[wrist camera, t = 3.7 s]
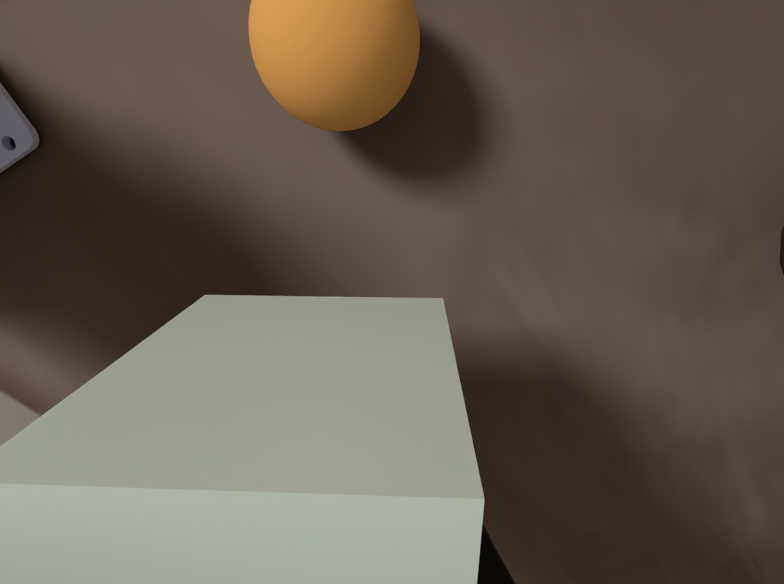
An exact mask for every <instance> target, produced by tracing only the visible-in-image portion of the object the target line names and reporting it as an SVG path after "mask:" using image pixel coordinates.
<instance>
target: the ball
mask: <svg viewBox="0 0 784 584" xmlns="http://www.w3.org/2000/svg"><path fill="white" fill-rule="evenodd" d="M249 39H250V47H251V52H252V56H253V60H254V63H255V65H256V68H257V71H258V73H259V75H260V77H261V79H262V81H263V83H264V84H265V86H266V87H267V89H268V90H269V92H270V93H271V95H272V96H273V97H274V98H275V100H276V101H277V102H278V103H279V104H280V105H281V106H282V107H283V108H284V109H285V110H286V111H287V112H289V113H290V114H292V115H293V116H294V117H296V118H297V119H299V120H301V121H303V122H305V123H307V124H309V125H311V126H314V127H316V128H320V129H324V130H330V131H349V130H355V129H359V128H362V127H365V126H368V125H370V124H372V123H374V122H376V121H378V120H379V119H381V118H382V117H384V116H385V115H386V114H387V113H389V112H390V111H391V110H392V109H393V108H394V107H395V106H396V105H397V103H398V102H399V101H400V100H401V98H402V97H403V95H404V94H405V92H406V91H407V89H408V87H409V85H410V83H411V81H412V79H413V76H414V73H415V70H416V66H417V62H418V57H419V48H420V30H419V22H418V16H417V12H416V8H415V4H414V1H413V0H252V1H251V6H250V13H249Z"/></svg>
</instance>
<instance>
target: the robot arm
mask: <svg viewBox="0 0 784 584" xmlns="http://www.w3.org/2000/svg"><path fill="white" fill-rule="evenodd" d="M11 138H12V139H13V140H14V141H15V144H16V147H15V149H14V148H13V147H12V145H11ZM38 144H39V135H38V133H37V132H36V130H35V128H34V127H33V126H32V124H31V123H30V122H29V120H28V119H27V118H26V116H25V115H24V114H23V112H22V111H21V110H20V108H19V107H18V106H17V104H16V103H15V102H14V100H13V99H12V97H11V96H10V95H9V93H8V92H7V91H6V89H5V88H4V87H3V85H2V84H1V83H0V173H1V172H2V171H4V170H5V169H7V168H8V167H10V166H11V165H13V164H14V163H16V162H17V161H18V160H20V159H21V158H23V157H24V156H26V155H27V154H29V153H30V152H32V151H33V150H34V149H36V148H37V146H38ZM477 584H515V582H514V580H513V579H512V577H511V575H510V573H509V572H508V570H507V568H506V566H505V565H504V563H503V561H502V559H501V558H500V556H499V554H498V552H497V550H496V548H495V546H494V545H493V543H492V541H491V539H490V537H489V535H488V533H487V531H486V529H485V527H484V525H483V523H482V533H481V544H480V555H479V567H478V578H477Z"/></svg>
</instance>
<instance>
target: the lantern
mask: <svg viewBox="0 0 784 584" xmlns="http://www.w3.org/2000/svg"><path fill="white" fill-rule="evenodd" d="M780 264H781V267H782V270H783V273H784V227H783V230H782V236H781V253H780Z"/></svg>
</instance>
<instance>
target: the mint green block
mask: <svg viewBox="0 0 784 584" xmlns="http://www.w3.org/2000/svg"><path fill="white" fill-rule="evenodd" d="M484 500H485V499H484V494H483V489H482V484H481V480H480V475H479V470H478V465H477V460H476V455H475V451H474V446H473V441H472V436H471V431H470V427H469V422H468V417H467V412H466V407H465V403H464V398H463V393H462V388H461V383H460V379H459V374H458V369H457V364H456V359H455V354H454V350H453V345H452V340H451V335H450V330H449V326H448V321H447V316H446V311H445V306H444V302H443V298H386V297H319V296H251V295H204V296H203V297H201V298H200V299H199V300H197V301H196V302H195V303H193V304H192V305H191V306H189V307H188V308H187V309H185V310H184V311H182V312H181V313H180V314H178V315H177V316H176V317H174V318H173V319H172V320H170V321H169V322H168V323H166V324H165V325H164V326H162V327H161V328H160V329H158V330H157V331H156V332H154V333H153V334H151V335H150V336H149V337H147V338H146V339H145V340H143V341H142V342H141V343H139V344H138V345H137V346H135V347H134V348H133V349H131V350H130V351H129V352H127V353H126V354H124V355H123V356H122V357H120V358H119V359H118V360H116V361H115V362H114V363H112V364H111V365H110V366H108V367H107V368H106V369H104V370H103V371H102V372H100V373H99V374H98V375H96V376H95V377H93V378H92V379H91V380H89V381H88V382H87V383H85V384H84V385H83V386H81V387H80V388H79V389H77V390H76V391H75V392H73V393H72V394H71V395H69V396H68V397H66V398H65V399H64V400H62V401H61V402H60V403H58V404H57V405H56V406H54V407H53V408H52V409H50V410H49V411H48V412H46V413H45V414H44V415H42V416H41V417H40V418H38V419H37V420H35V421H34V422H33V423H31V424H30V425H29V426H27V427H26V428H25V429H24V430H22V431H21V432H19V433H18V434H17V435H15V436H14V437H13V438H11V439H10V440H9V441H7V442H6V443H4V444H3V445H2V446H0V584H477V578H478V567H479V555H480V544H481V533H482V522H483V511H484Z"/></svg>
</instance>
